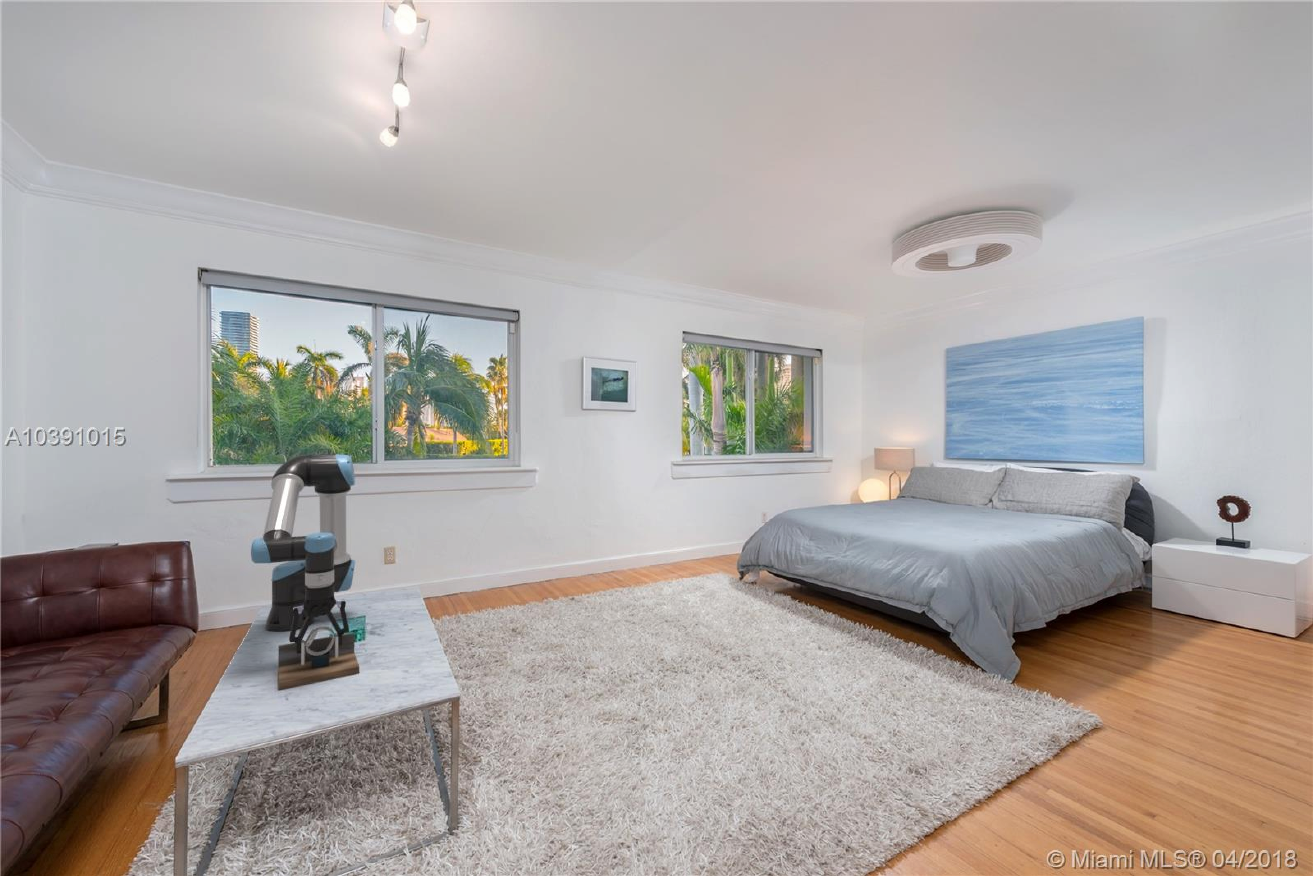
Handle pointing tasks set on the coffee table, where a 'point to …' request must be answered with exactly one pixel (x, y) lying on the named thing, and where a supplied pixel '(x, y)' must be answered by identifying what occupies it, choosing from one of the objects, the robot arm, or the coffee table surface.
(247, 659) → the coffee table surface
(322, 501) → the robot arm
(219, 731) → the coffee table surface
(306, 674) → the display stand
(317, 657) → the watch
